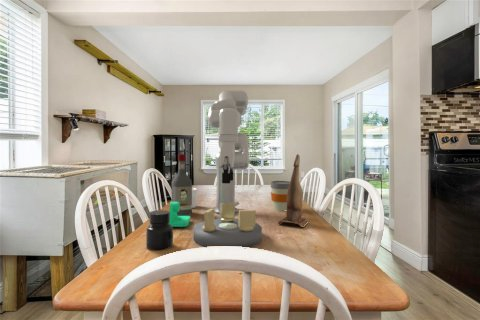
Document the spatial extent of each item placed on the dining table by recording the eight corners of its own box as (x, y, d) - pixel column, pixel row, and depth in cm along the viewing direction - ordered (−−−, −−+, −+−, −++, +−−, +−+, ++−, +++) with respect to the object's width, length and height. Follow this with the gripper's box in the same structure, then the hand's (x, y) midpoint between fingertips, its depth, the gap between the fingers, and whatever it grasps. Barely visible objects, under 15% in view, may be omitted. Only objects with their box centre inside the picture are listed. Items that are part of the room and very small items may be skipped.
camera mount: (185, 229, 125) (185, 205, 124) (167, 228, 125) (167, 204, 124) (190, 221, 137) (190, 199, 136) (174, 221, 137) (174, 199, 136)
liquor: (170, 212, 153) (170, 153, 151) (188, 210, 156) (188, 153, 154) (174, 216, 144) (174, 154, 142) (192, 215, 148) (193, 154, 146)
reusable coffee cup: (276, 205, 172) (277, 180, 171) (296, 209, 165) (297, 182, 164) (265, 209, 162) (266, 182, 161) (286, 213, 155) (287, 184, 154)
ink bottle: (178, 243, 107) (178, 210, 106) (166, 252, 99) (166, 216, 98) (153, 240, 109) (153, 208, 109) (140, 249, 101) (140, 214, 100)
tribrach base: (222, 224, 132) (222, 198, 132) (273, 235, 117) (274, 207, 117) (178, 239, 111) (179, 209, 110) (234, 255, 96) (235, 220, 96)
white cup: (199, 205, 169) (199, 188, 168) (193, 208, 161) (193, 190, 161) (187, 204, 171) (187, 187, 171) (180, 207, 164) (180, 189, 163)
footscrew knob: (235, 219, 124) (235, 202, 124) (233, 222, 119) (234, 205, 119) (220, 219, 125) (220, 201, 124) (218, 222, 120) (219, 204, 119)
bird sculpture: (277, 226, 131) (279, 154, 128) (285, 219, 142) (287, 152, 139) (302, 230, 127) (305, 155, 124) (308, 223, 137) (311, 153, 134)
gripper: (222, 139, 129) (221, 179, 130) (215, 139, 112) (214, 184, 112) (239, 140, 128) (239, 179, 129) (235, 139, 111) (234, 184, 112)
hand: (227, 181), depth 121 cm, fingers open, 9 cm apart
